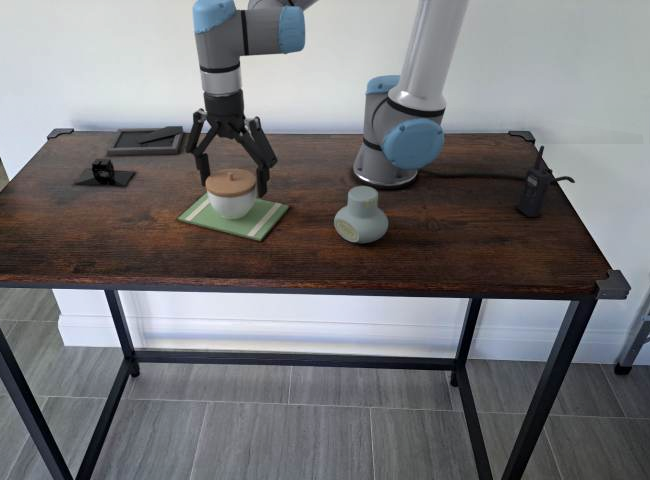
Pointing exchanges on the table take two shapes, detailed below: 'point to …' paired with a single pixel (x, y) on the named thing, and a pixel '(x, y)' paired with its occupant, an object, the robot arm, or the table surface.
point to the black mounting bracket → (104, 175)
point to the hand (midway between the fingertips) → (234, 189)
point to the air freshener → (361, 217)
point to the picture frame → (146, 141)
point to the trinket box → (231, 192)
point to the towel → (247, 226)
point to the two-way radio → (535, 188)
